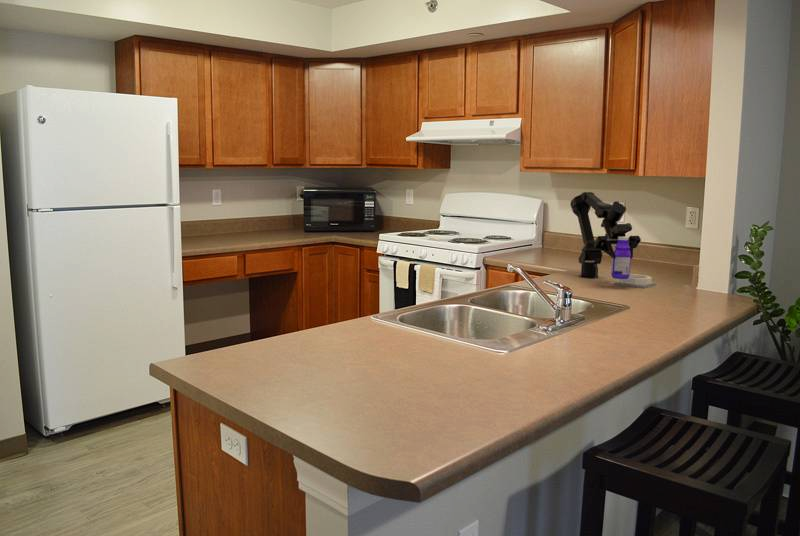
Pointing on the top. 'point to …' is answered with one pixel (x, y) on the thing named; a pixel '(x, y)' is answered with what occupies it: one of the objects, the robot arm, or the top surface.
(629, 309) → the top surface
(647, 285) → the dock
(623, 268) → the bottle
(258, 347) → the top surface
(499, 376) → the top surface
